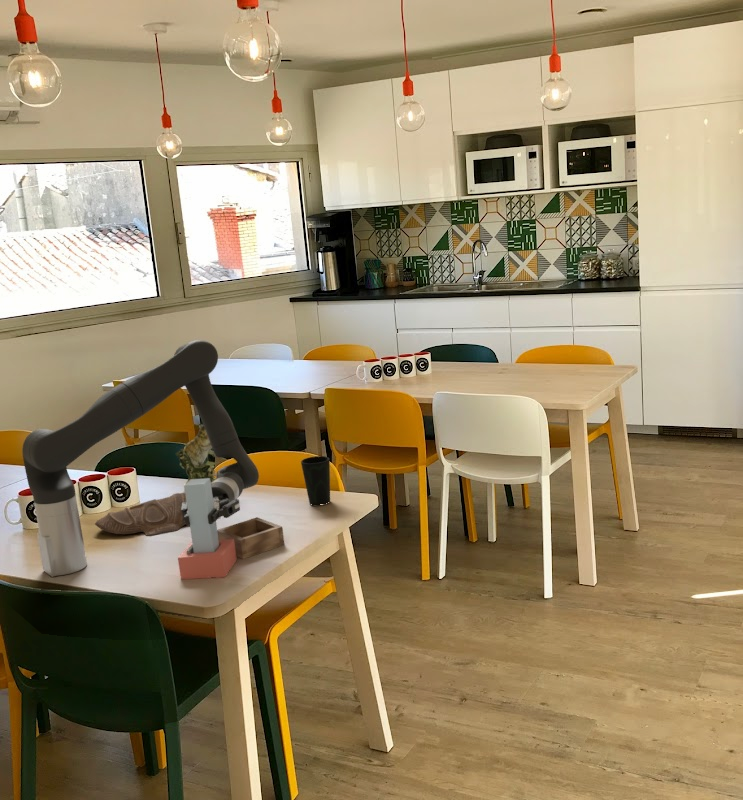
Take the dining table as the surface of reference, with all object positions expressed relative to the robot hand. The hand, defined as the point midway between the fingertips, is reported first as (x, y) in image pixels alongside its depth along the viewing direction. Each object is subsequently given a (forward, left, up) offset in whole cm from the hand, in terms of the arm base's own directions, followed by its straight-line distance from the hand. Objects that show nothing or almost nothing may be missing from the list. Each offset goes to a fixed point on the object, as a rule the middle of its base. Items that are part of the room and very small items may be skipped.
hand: (198, 520), depth 200 cm
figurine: (+32, +61, -13) cm, 70 cm away
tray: (+16, +7, -12) cm, 21 cm away
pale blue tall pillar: (+2, +2, -12) cm, 12 cm away
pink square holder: (+2, +2, -12) cm, 13 cm away
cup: (+46, +21, -13) cm, 52 cm away
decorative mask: (+9, +46, -13) cm, 48 cm away
